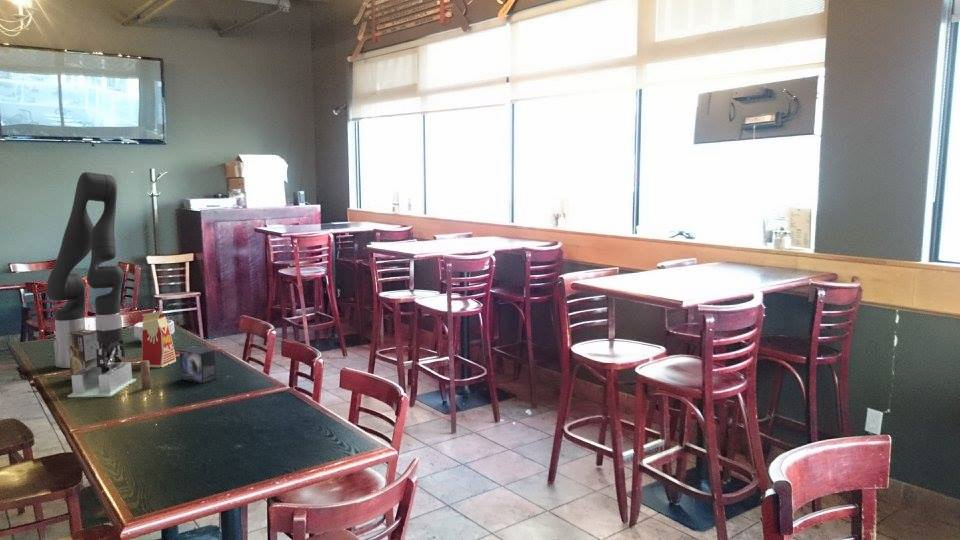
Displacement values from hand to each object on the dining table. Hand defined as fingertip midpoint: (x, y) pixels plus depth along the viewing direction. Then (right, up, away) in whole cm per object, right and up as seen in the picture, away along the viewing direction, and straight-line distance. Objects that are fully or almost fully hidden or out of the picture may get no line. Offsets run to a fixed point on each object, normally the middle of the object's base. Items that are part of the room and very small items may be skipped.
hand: (112, 375), depth 232 cm
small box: (+27, -2, +4) cm, 27 cm away
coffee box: (-11, -2, +5) cm, 13 cm away
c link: (0, -3, -6) cm, 7 cm away
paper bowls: (-14, +5, +60) cm, 62 cm away
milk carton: (+4, 0, +24) cm, 24 cm away
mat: (0, -3, -6) cm, 7 cm away
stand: (+14, -3, -7) cm, 16 cm away
